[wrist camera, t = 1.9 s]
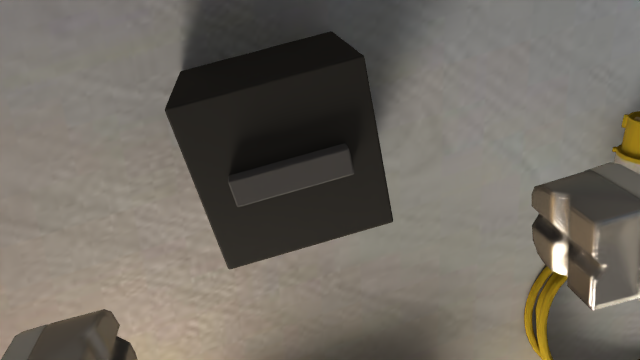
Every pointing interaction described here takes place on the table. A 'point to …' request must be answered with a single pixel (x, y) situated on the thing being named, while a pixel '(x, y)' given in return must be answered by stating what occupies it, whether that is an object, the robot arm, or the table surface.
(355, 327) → the table surface
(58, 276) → the table surface
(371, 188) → the black block
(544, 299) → the extension cord
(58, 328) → the robot arm
